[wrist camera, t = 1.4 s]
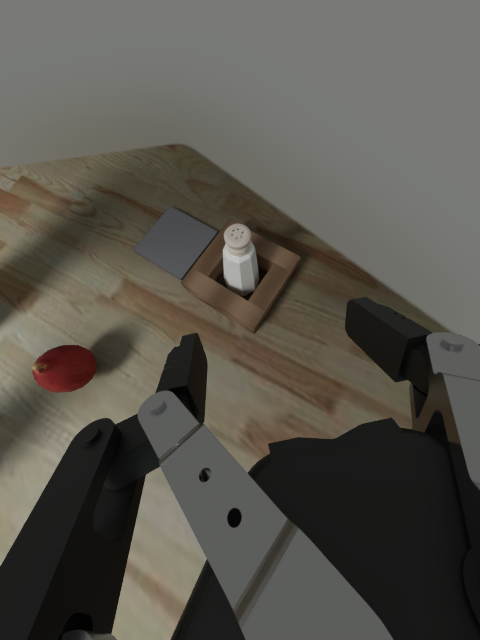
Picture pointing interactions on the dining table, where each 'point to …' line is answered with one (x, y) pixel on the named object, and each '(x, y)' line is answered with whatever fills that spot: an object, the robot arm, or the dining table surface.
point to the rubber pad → (176, 242)
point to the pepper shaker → (240, 261)
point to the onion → (64, 368)
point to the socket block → (227, 302)
